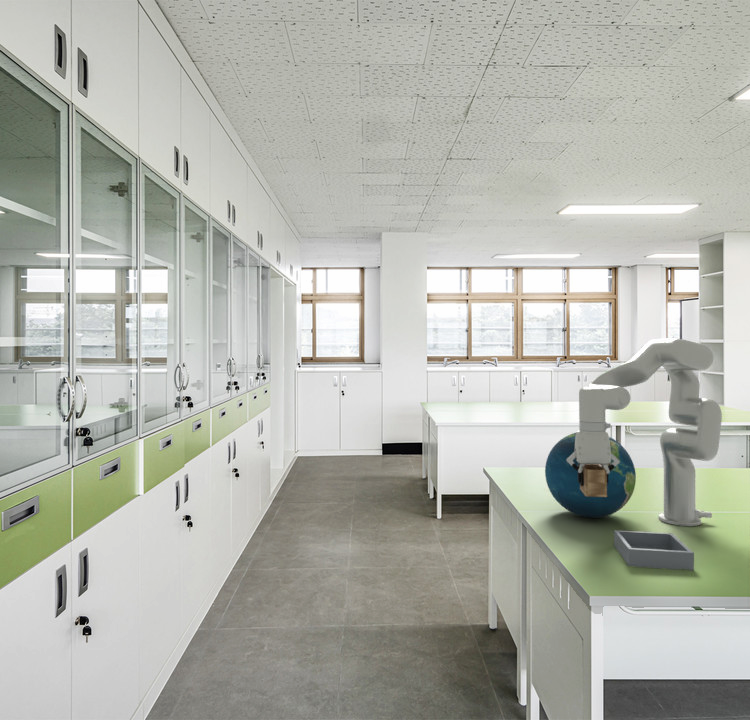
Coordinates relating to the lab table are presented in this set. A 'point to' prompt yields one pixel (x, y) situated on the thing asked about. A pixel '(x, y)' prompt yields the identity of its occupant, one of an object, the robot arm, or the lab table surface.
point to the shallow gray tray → (653, 550)
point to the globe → (568, 489)
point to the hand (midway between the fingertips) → (593, 484)
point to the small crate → (594, 480)
